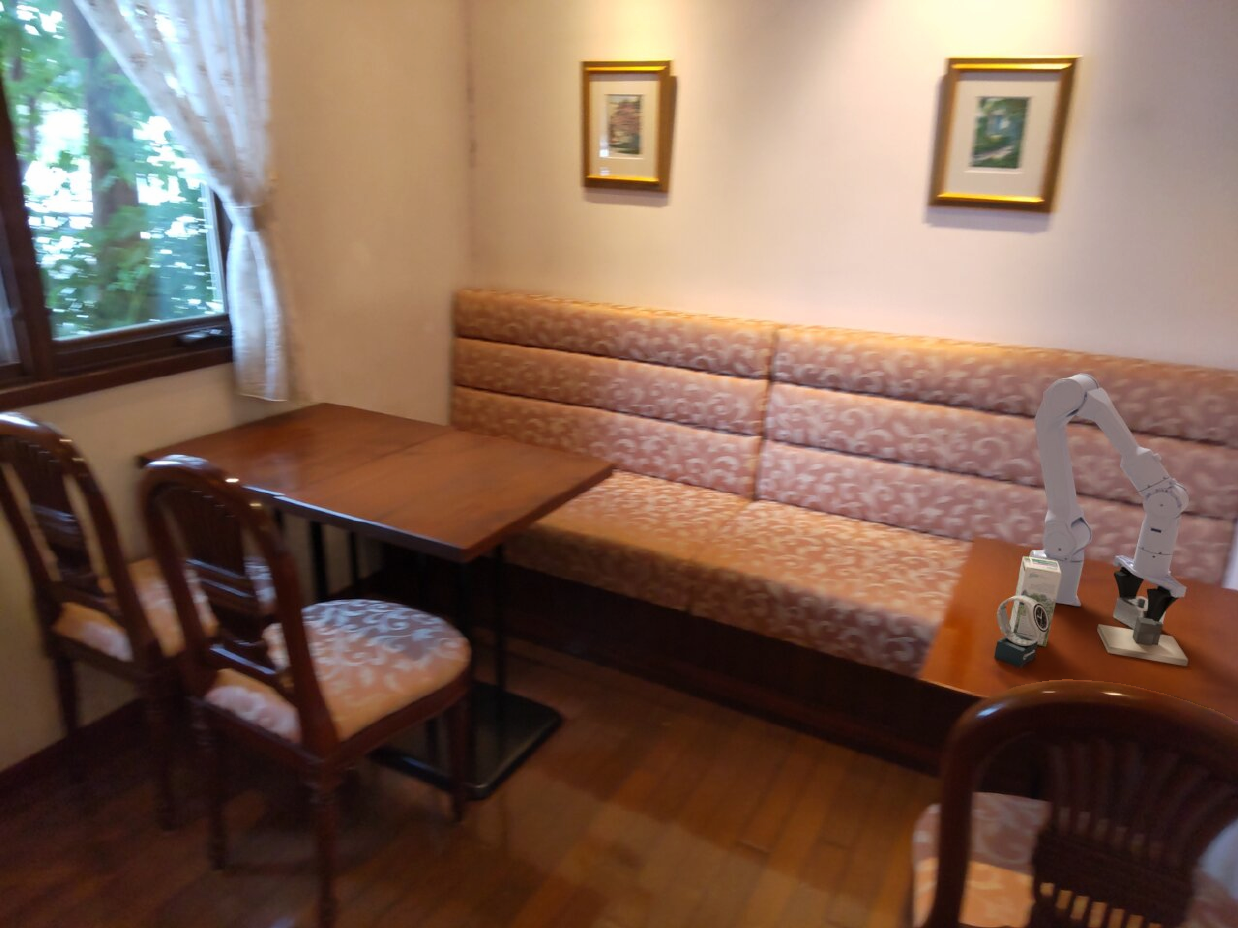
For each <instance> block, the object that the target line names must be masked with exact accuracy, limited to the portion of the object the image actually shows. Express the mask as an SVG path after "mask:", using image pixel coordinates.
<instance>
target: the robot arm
mask: <svg viewBox="0 0 1238 928" xmlns="http://www.w3.org/2000/svg"><path fill="white" fill-rule="evenodd" d="M1042 393H1043V394H1042V395H1043V396H1042V397H1043V398H1042V400H1041V403H1040V405H1039V407H1038V409H1037V412H1036V415H1035V416H1034V420H1033V421H1034V429H1035V435H1036V442H1037V447H1038V448H1037V449H1038V454H1039V460H1040V461H1039V462H1040V466H1041V467H1040V468H1041V473H1042V478H1043V479H1042V480H1043V484H1044V489H1045V497H1046V504H1047V512H1046V515H1045V518H1044V523H1043V524H1044V533H1043V535H1042V538H1041V539H1042V540H1041V542H1042V547H1043V549H1039V550H1037V549H1036V550H1035V549H1033V550H1031V551H1030V553H1029V556H1028V557H1033V558H1040V559H1046V560H1053V561H1057V562H1058V564H1059V567H1060V571H1061V573H1062V576H1061V581H1060V585H1059V590H1058V594H1057V598H1056V603H1055V604H1062V605H1069V606H1074V607H1081V606H1082V603H1081V601H1080V599H1079V597H1078V595H1077V594H1078V588H1079V584H1080V580H1081V575H1082V572H1083V571H1082V570H1083V567H1084V563H1085V562H1084V561H1085V557H1086V556H1085V552H1084V548H1085V547H1087V546H1088V545H1089V544H1091V541H1092V539H1093V529H1092V527H1091V526H1090V524H1089V523H1088V521H1087V520H1086V518H1085V512H1084V510H1083V509H1082V508H1081V507H1080V505H1079V503H1078V498H1077V490H1076V485H1075V479H1074V472H1073V466H1072V460H1071V454H1070V448H1069V441H1068V435H1067V430H1066V429H1067V428H1066V426H1067V424H1068V423H1069V422H1070V421H1071V420H1072V419H1073V418H1074V417H1075V416H1077V417H1080V418H1083V419H1086V420H1090V421H1091V422H1092V421H1093V422H1094V423H1095V424H1096V425H1097V426H1098V427H1099V429H1100V430H1101V432H1102V433H1103V435H1105V436H1106V438H1107V439H1108V441H1109V442H1110V444H1112V446H1113V447H1114V448H1115V450H1116V451H1117V452H1118V453H1119V454H1120V456H1121V460H1120V463H1119V466H1120V469H1121V470H1122V472H1124V474H1125V475H1126V477H1127V478H1128V479H1129V481H1130V482H1131V484H1132V485H1133V486H1134V487H1133V488H1135V489H1136V491H1137V493H1138V494H1139V495H1140V496H1141V497H1142V498H1144V499H1143V500H1142V507H1143V510H1144V512H1145V515H1144V519H1143V521H1142V522H1141V523H1142V524H1141V527H1140V532H1139V536H1138V541H1137V545H1136V548H1135V552H1134V558H1133V559H1132V558H1130V557H1127V556H1126V555H1115V557H1114V560H1113V566H1114V567H1117V568H1120V569H1119V570H1115V571H1114V572H1113V577H1114V580H1115V581H1116V584H1117V588H1118V589H1117V590H1118V595H1119V597H1118V598H1121V597H1137V594H1138V592H1139V590H1140V587H1141V585H1142V583H1143V582H1144V581H1146V582H1148V583H1150V584H1151V585H1154V586H1156V588H1155V587H1154V588H1146V593H1147V599H1148V609H1147V614H1146V618H1148V619H1153V621H1157V622H1159V621H1160V619H1161V617H1162V616H1163V614H1164V613H1165V611H1166V612H1167V610H1168V609H1169V608H1170V607H1171V606H1172V605H1173V604H1174V603H1175V602H1176V601H1177V600H1179V599H1180V598H1184V597H1185V595H1186V591H1187V586H1185V585H1183V584H1182V583H1180V581H1178V580H1177V579H1176V578H1174V577H1173V576H1172V575H1171V573H1172V572H1171V570H1170V567H1171V562H1172V559H1173V555H1174V551H1175V547H1176V543H1177V539H1178V536H1179V531H1180V524H1181V520H1182V514H1181V513H1182V512H1184V511H1185V510H1186V509H1187V507H1188V506H1189V503H1190V502H1189V501H1190V497H1189V493H1188V492H1187V488H1186V487H1185V486H1183V485H1181V484H1180V483H1178V481H1177V479H1176V478H1175V477H1171V475H1170V474H1169V472H1168V471H1167V469H1165V466H1163V464H1162V463H1161V461H1162V460H1163V458H1162V456H1161V455H1160V453H1154V452H1153V450H1152V449H1150V448H1146V447H1142V446H1140V445H1139V443H1138V442H1137V440H1136V438H1135V436H1134V435H1133V434H1132V432H1131V430H1130V429H1129V427H1128V426H1127V424H1126V422H1125V421H1124V420H1123V418H1122V417H1121V415H1120V413H1119V412H1118V410H1117V409H1116V407H1115V405H1114V404H1113V402H1112V400H1111V399H1110V396H1109V395H1108V393H1107V391H1106V390H1105V389H1104V388H1103V387H1100V385H1099V382H1098V381H1097V379H1096V378H1095V377H1094V376H1092V375H1090V374H1087V373H1077V374H1074V375H1072V376H1070V377H1063V378H1059V379H1057V380H1055V381H1054V382H1052V383H1051V385H1050V386H1049V387H1048V388H1047V389H1046V390H1044V391H1043V392H1042ZM1165 614H1166V613H1165Z"/></svg>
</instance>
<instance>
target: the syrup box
mask: <svg viewBox="0 0 1238 928" xmlns="http://www.w3.org/2000/svg"><path fill="white" fill-rule="evenodd" d="M1061 576H1062V573H1061V571H1060V567H1059V564H1058V562H1057V561H1053V560H1046V559H1040V558H1033V557H1029V556H1026V555H1025V556H1024V555H1023V556H1022V560H1021V564H1020V569H1019V573H1018V579H1017V582H1016V588H1015V593H1014V596H1018V595H1023V596H1027V597H1030V598H1032V599H1034V600H1036V601H1037V602H1038V603H1040V604H1042V605H1043V606H1044V608H1045V609H1046V611H1047V613H1048V617H1049V629H1048V631H1047V632H1046V633H1045V635H1044V637H1042V638H1041V639H1040V640H1039V641H1037V642H1038V643H1037V646H1041V647H1046V646H1047V642H1048V638H1049V634H1050V630H1051V624H1052V621H1053V616H1054V611H1055V607H1056V604H1057V603H1056V598H1057V594H1058V590H1059V585H1060V581H1061ZM1024 604H1025V603H1023V602H1020V601H1017V600H1013V602H1012V608H1011V612H1010V618H1009V623H1010V626H1011V628H1012V629H1011V631H1012V632H1014V633H1017V634H1019V635H1022V636H1024V637H1027V638H1029V639H1032V640H1035V639H1036V638H1035V635H1034V631H1032V629H1031V628H1030V626H1029V624H1028V622H1027V617H1026V609H1025V606H1024Z"/></svg>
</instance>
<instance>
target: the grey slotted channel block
mask: <svg viewBox="0 0 1238 928" xmlns="http://www.w3.org/2000/svg"><path fill="white" fill-rule="evenodd" d="M1147 609H1148V597H1144V596H1142V595H1141V596H1140V595H1138V596H1136V597H1121V598H1120V597H1117V598H1116V604H1115V607H1114V611H1113V615H1112V617H1113V618H1114V619H1116V620H1117V621H1119V622H1121V623H1123V624H1124V625H1126V626H1127V627H1129V628H1131V630H1134V628H1135V624H1136V620H1137V617H1142V618H1146V614H1147ZM1166 612H1167V610H1166V611H1165V613H1164V614H1163V616H1162V617H1161V619H1160V621H1159V622H1162V624H1163V625H1164V621H1165V616H1166Z"/></svg>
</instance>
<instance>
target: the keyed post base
mask: <svg viewBox="0 0 1238 928" xmlns="http://www.w3.org/2000/svg"><path fill="white" fill-rule="evenodd" d="M1163 626H1164V623H1163V624H1162V622H1157V621H1153V619H1148V618H1142V617H1137V620H1136V624H1135V628H1134V629H1132V628H1131V629H1130V628H1124V627H1118V626H1111V625H1106V624H1101V623H1099V624H1098V625H1097V630H1096V631H1097V633H1098V635H1099V637H1100V639H1101V640H1102V643H1103V645H1104V648H1105V649H1106V651H1107V653H1108V654H1113V655H1114V654H1115V655H1118V656H1124V657H1130V658H1137V659H1143V660H1147V661H1148V660H1149V661H1154V662H1158V663H1159V662H1160V663H1164V664H1165V663H1166V664H1172V665H1177V666H1181V667H1182V666H1183V667H1187V666H1188V662H1189V658H1188V657H1187V656H1186V654H1185V653H1184V651H1183V650H1182V648H1181V647H1180V646H1179V644H1178V642H1177V641H1176V639H1175V638H1174V637H1173V636H1172V635H1166V634H1162V631H1163Z"/></svg>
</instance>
